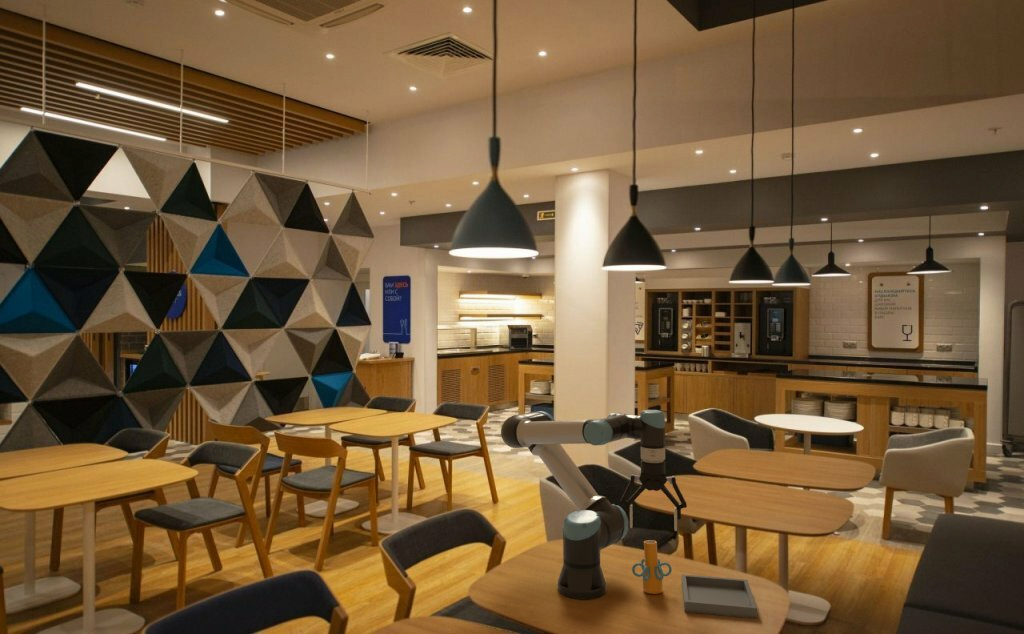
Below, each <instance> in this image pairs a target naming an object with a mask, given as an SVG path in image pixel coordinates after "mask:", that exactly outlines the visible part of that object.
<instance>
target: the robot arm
mask: <svg viewBox="0 0 1024 634" xmlns="http://www.w3.org/2000/svg"><path fill="white" fill-rule="evenodd" d="M665 417H666V416H665V413H664V411H662V410H658V409H644V410H641V411H640V415H635V414H630V413H629V414H628V413H627V414H626V413H622V412H618V413H616V412H612V413H609V414H608V416H607V417H604V418H592V419H569V420H555V419H554V418H555V417H553V416H552V415H551V414H550V413H548V412H546V411H543V410H540V411H539V410H535V411H531V412H528V413H521V414H514V415H511V416H510V417H508V418H507V419H505V420H504V421H503V423H502V425H501V429H500V435H501V436H500V437H501V439H502V440H503V442H504V444H506V446H507V447H510V448H512V449H522V448H527V449H528V450H529V451H530V453H531V454H532V456H538V457H539V458H540V459H541V461H542V462H543V464H544V465H545V466H546V468H547V469H548V471H549V472H550V473H551V475H552V476H553V478H554V479H555V480H556V482H557V483H558V484H559V486H560V487H561V489H562V490H563V491H564V492H565V494H566V495H567V497H568V498H569V500H570V501H571V503H572V504H573V505H574V507H575V508H576V509H577V510H575V511H572V512H570V513H568V514H567V515H565V517H564V520H563V526H562V537H563V538H562V543H563V544H562V548H563V549H562V553H563V554H562V555H563V559H562V560H563V562H562V568H561V570H560V573H559V576H558V580H557V590H558V592H559V593H560V594H562V595H564V597H568V598H569V599H570V598H571V599H575V600H593V599H597V598H600V597H602V596H604V595H605V594H606V592H607V583H606V582H607V581H606V579H605V574H604V572H603V570H602V566H601V550H604V549H605V548H608V547H610V546H612V545H614V544H617V543H619V542H620V541H621V540H623V539H624V538H625V537H626V536H627V533H628V531H629V528H630V529H633V526H634V525H633V518H634V517H633V516H634V515H633V503H634V502H635V500H636V499H638V497H639V496H640V495H641V494H642V493H643V492H644V491H645V490H647V491H654V492H655V491H656V492H659V491H660V490H661V491H662V493H663V494H664V495H665V496H666V497H667V498H668V500H669V501H670V502H671V503H672V504H673V506H674V507H673V511H674V512H673V514H674V515H673V518H674V520H673V523H674V525H673V527H674V529H673V530H674V531H675V532H678V521H679V520H681V519H682V509H686V508H687V507H688V505H687V502H686V500H685V498H684V496H683V494H682V492H681V490H680V487H679V486H678V484H677V479H676V476H675V475H672V476H667V475H666V461H665V460H666V418H665ZM623 439H633V440H639V441H640V459H641V460H640V474H639V475H637V474H634V473H632V474H630V480H629V483H628V484H627V486H626V489H625V490H624V492H623V494H622V496H621V498H620V501H619V503H620V505H624V506H625V510H624V509H623V508H622V507H621V506H620V505H616V504H614V503H611V502H610V501H609V500H608V498H607V497H606V496H603V495H599V494H598V492H596V491H597V490H595V489H594V487H593V486H592V484H591V483H590V482H589V480H588V479H587V478H586V477H585V475H584V474H583V473H582V471H581V469H579V467H578V466H577V465H576V463H575V462H574V461H573V459H572V457H570V455H569V454H568V452H567V451H566V450H565V449H564V447H563V446H562V445H565V444H566V445H568V444H570V445H573V444H575V445H576V444H578V445H580V444H585V445H586V444H589V445H591V446H603V445H606V444H609V443H613V442H616V441H620V440H623ZM638 481H639V482H640V483H641V485H640V486H639V487H638V488H637V489H636V490H635V492H634V493H633V494H632V495H631V496H630V497H629V498H628V496H629V494H630V492H631V490H632V488H634V487H633V486H634V484H635V483H636V482H638ZM667 482H668V483H669V484H670V485H672V488H673V490H674V492H675V494H676V496H677V498H678V499H679V501H680V502H679V501H678V500H677V499H676V497H675V496H674V495H673V494H672V493H671V491H670V490H669V489H668V488H667V486H666V485H665V484H666V483H667ZM627 498H628V499H627ZM628 517H629V518H628Z"/></svg>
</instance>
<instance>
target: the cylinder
mask: <svg viewBox="0 0 1024 634" xmlns="http://www.w3.org/2000/svg"><path fill="white" fill-rule="evenodd" d="M643 551H644V552H643V553H644V558H642V559H641V561H640V562H636V563H634V564H633V565H632V568H631V569H632V570H631V572H632V573H633V575H634V576H635V577H639V578H641V577H642V590H643V592H644V593H646V594H651V595H656V594H661V593H663V589H664V588H663V580H664V577H667V576H670V574H672V566H671V565H670V563H668V562H665V561H663V562H661V561H660V559H659V558H658V557H659V556H658V542H657V541H656V540H652V539H649V540H644V541H643ZM637 566H640V567H641V570H642V572H641V573H637V572H636V567H637ZM662 566H667V568H668V571H667V572H666V573H664V571H663V569H662Z"/></svg>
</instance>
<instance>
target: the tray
mask: <svg viewBox="0 0 1024 634" xmlns="http://www.w3.org/2000/svg"><path fill="white" fill-rule="evenodd" d="M681 589H682V598H683V608H684V613H694V614H704V615H713V616H715V615H716V616H726V617H735V618H744V617H748V619H755V618H757V619H758V607H757V603H756V601H755V597H754V595H753V592H752V589H751V587H750V583H749V581H748V579H741V578H733V577H732V578H731V577H719V576H707V575H706V576H705V575H693V574H685V573H684V574H681Z"/></svg>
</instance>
